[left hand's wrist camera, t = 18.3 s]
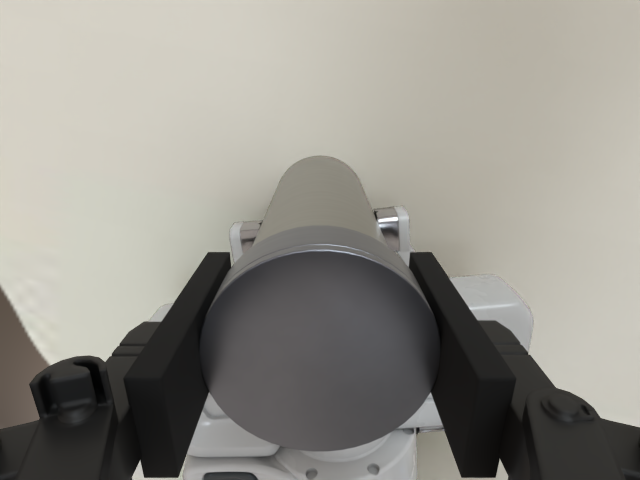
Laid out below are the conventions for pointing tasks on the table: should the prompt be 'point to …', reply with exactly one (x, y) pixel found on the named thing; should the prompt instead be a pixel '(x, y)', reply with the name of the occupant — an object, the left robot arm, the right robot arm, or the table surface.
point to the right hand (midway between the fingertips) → (317, 217)
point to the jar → (319, 200)
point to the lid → (319, 340)
